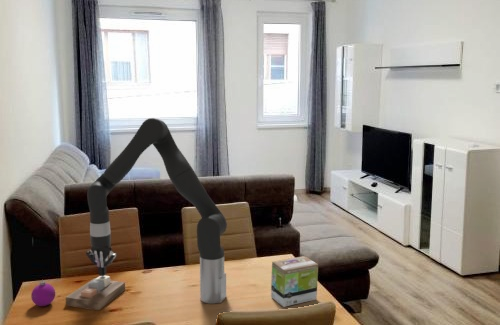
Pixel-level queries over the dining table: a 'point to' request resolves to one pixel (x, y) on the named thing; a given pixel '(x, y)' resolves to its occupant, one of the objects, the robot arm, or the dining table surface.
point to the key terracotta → (89, 292)
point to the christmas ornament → (43, 294)
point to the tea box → (294, 281)
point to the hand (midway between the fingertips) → (102, 275)
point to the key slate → (96, 285)
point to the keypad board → (97, 300)
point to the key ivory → (105, 279)
